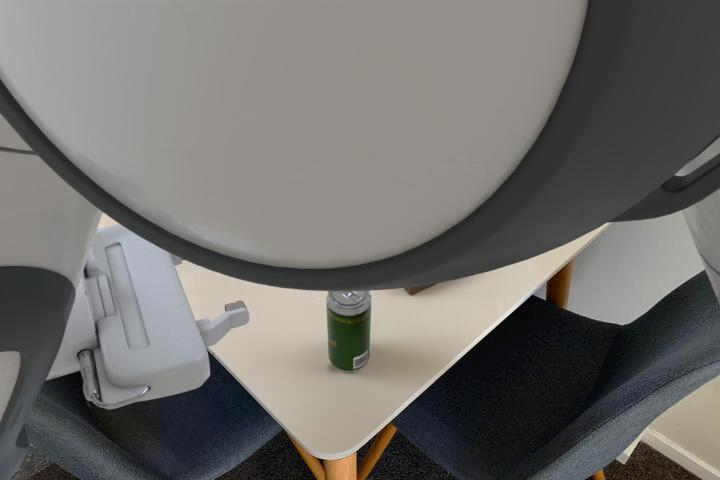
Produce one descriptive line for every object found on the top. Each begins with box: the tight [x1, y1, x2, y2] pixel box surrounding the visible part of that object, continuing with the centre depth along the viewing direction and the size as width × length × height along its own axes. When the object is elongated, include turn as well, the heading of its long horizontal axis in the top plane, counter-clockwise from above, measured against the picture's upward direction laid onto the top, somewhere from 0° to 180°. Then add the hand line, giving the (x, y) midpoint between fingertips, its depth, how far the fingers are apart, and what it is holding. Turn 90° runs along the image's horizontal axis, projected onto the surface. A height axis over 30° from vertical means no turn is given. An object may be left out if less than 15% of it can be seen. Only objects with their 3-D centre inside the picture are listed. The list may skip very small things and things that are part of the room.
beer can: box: [325, 291, 372, 374], centre depth 65 cm, size 5×5×12 cm
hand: (230, 279), depth 51 cm, fingers open, 8 cm apart
